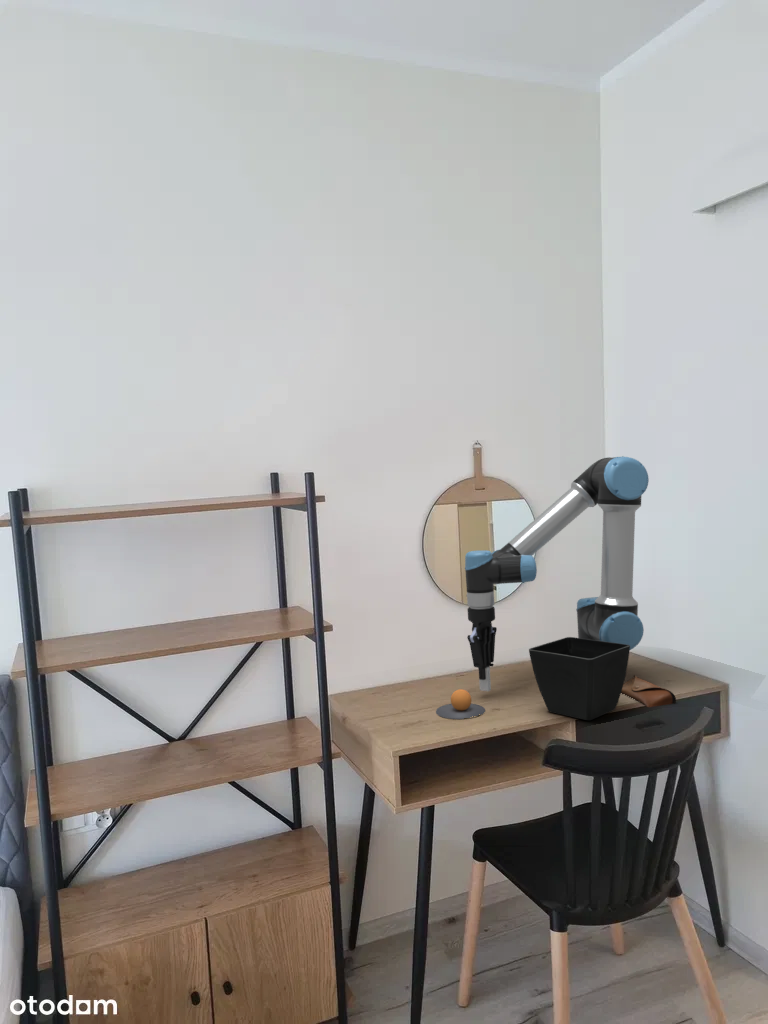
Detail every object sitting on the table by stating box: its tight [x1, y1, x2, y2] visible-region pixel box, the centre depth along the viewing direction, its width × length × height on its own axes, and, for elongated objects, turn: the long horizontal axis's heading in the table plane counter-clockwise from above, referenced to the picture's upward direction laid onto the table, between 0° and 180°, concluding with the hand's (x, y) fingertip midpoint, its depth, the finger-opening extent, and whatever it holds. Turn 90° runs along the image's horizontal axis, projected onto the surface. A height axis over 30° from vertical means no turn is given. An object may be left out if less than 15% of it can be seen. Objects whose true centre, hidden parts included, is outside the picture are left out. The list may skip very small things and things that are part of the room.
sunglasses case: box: [621, 674, 677, 708], centre depth 205 cm, size 18×7×7 cm
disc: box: [435, 702, 486, 720], centre depth 201 cm, size 13×13×1 cm
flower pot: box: [528, 636, 631, 721], centre depth 196 cm, size 19×19×17 cm
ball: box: [450, 688, 472, 711], centre depth 202 cm, size 6×6×6 cm
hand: (485, 689), depth 213 cm, fingers closed
